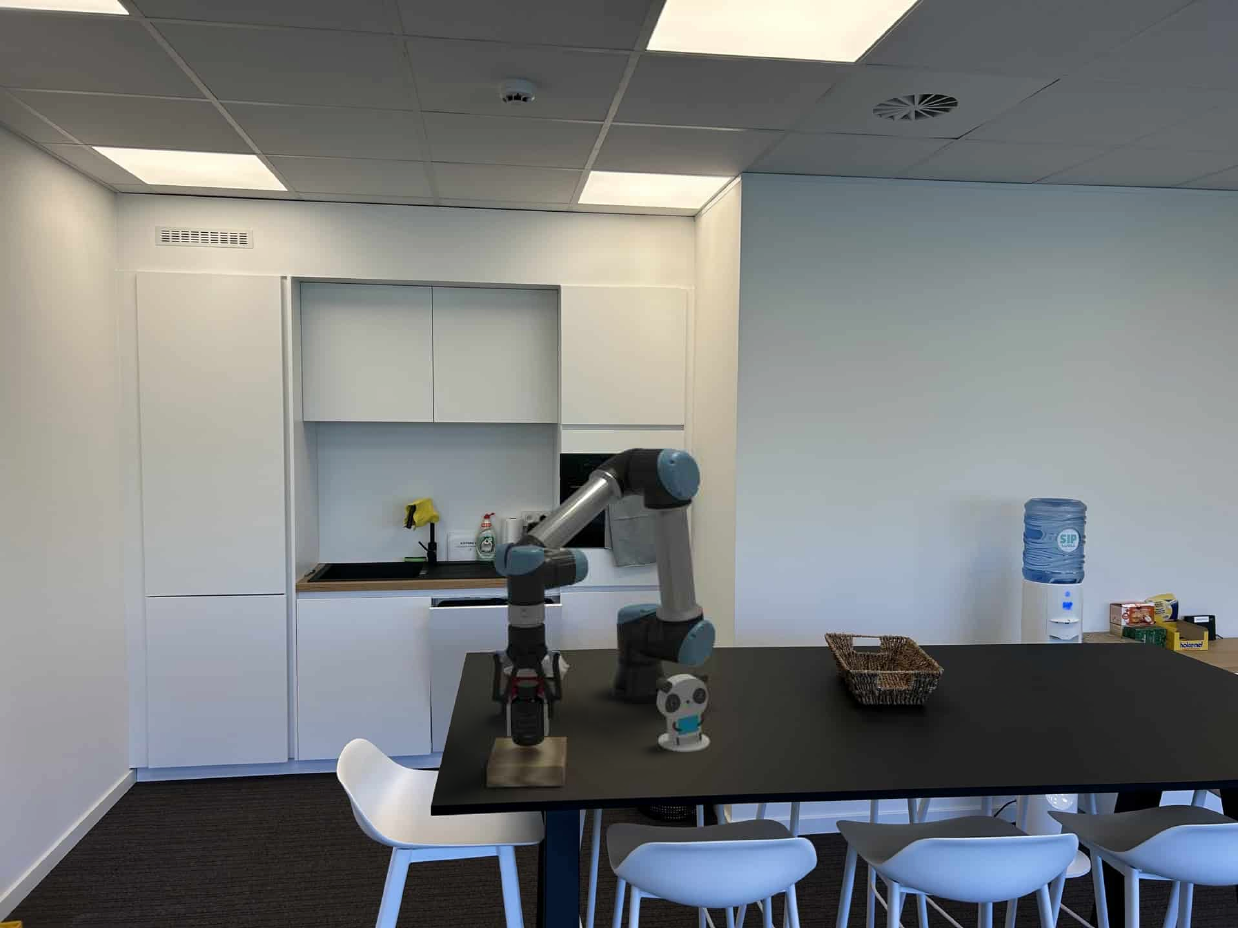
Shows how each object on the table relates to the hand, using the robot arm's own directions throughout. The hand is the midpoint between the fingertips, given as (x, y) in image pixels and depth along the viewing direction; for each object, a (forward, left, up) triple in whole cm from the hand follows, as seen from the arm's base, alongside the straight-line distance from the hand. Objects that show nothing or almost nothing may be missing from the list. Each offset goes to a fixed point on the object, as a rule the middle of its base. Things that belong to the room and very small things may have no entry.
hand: (528, 733), depth 178 cm
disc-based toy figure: (-33, -14, -8) cm, 37 cm away
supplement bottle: (0, 0, -2) cm, 2 cm away
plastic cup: (+3, -31, -8) cm, 32 cm away
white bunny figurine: (+2, -63, -8) cm, 63 cm away
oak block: (0, 0, -8) cm, 8 cm away
